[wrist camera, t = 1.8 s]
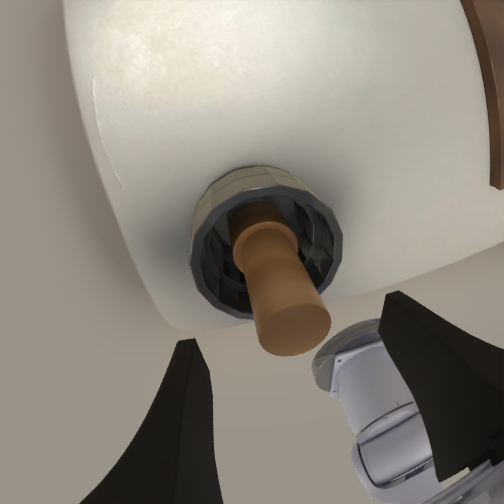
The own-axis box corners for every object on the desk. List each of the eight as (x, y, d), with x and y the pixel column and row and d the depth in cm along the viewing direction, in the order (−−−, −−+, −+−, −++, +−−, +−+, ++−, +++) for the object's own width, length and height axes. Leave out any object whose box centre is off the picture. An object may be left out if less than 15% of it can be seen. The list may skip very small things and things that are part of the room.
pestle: (287, 247, 19) (338, 350, 11) (234, 258, 19) (254, 370, 11) (282, 197, 17) (344, 284, 9) (224, 207, 17) (240, 307, 9)
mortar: (316, 264, 20) (339, 303, 17) (209, 286, 20) (210, 331, 16) (311, 156, 16) (342, 174, 12) (180, 178, 16) (171, 204, 12)
